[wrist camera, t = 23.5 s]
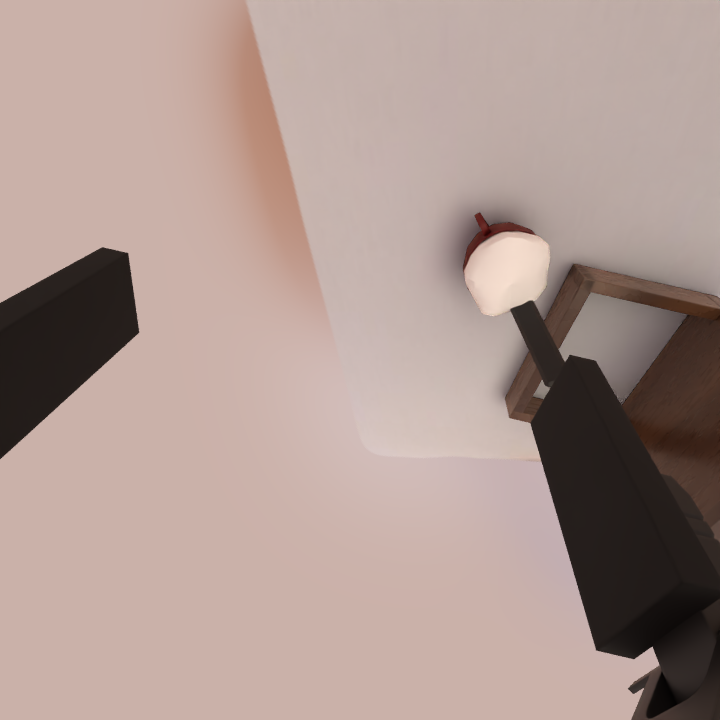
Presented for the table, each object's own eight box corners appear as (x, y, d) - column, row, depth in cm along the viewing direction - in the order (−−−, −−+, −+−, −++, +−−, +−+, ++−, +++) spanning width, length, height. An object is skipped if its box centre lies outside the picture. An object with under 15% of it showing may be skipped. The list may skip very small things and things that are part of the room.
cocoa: (456, 206, 34) (468, 262, 24) (540, 192, 32) (590, 245, 23) (464, 311, 39) (477, 393, 29) (537, 303, 37) (576, 386, 28)
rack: (723, 297, 35) (883, 420, 23) (625, 426, 44) (702, 566, 31) (573, 263, 35) (651, 367, 23) (504, 398, 44) (534, 527, 31)
